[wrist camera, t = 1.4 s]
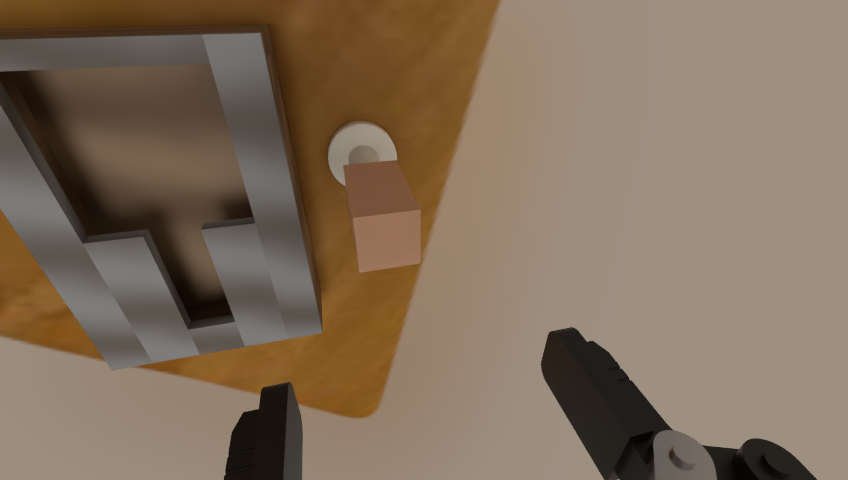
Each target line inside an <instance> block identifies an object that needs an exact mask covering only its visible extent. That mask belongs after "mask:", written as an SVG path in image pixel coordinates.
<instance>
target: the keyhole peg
mask: <svg viewBox="0 0 848 480" xmlns="http://www.w3.org/2000/svg"><path fill="white" fill-rule="evenodd" d="M328 161H329V167H330V169H331V172H332V174H333V175H334V177H335V178H336V179H337V180H338V181H339V182H340V183H341V184H343V185H344V186H346V194H347V202H348V210H349V216H350V222H351V228H352V233H353V239H354V245H355V250H356V256H357V262H358V267H359V273H360V272H367V271H373V270H380V269H387V268H393V267H400V266H407V265H413V264H420V263H421V210H420V208H419V206H418V204H417V202H416V200H415V198H414V195H413V193H412V191H411V189H410V187H409V185H408V183H407V181H406V179H405V177H404V175H403V173H402V171H401V169H400V167H399V165H398V163H397V153H396V149H395V146H394V144H393V142H392V140H391V138H390V136H389V135H388V133H387V132H386V131H385V130H384V129H383V128H382V127H381V126H379V125H377V124H375V123H373V122H370V121H365V120H357V121H352V122H349V123H346V124H344V125H343V126H341V127H340V128H338V129H337V130H336V131H335V133H334V134H333V135H332V137H331V139H330V142H329V145H328Z"/></svg>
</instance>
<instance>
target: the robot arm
mask: <svg viewBox="0 0 848 480" xmlns="http://www.w3.org/2000/svg"><path fill="white" fill-rule="evenodd" d="M541 368H542V373H543V376H544V378H545V381H546V382H547V384H548V386H549V388H550V389H551V391H552V393H553V394H554V396H555V397H556V399H557V401H558V403H559V404H560V406H561V408H562V409H563V411H564V413H565V414H566V416H567V418H568V420H569V421H570V423H571V425H572V426H573V428H574V430H575V431H576V433H577V434H578V436H579V438H580V440H581V441H582V443H583V445H584V446H585V448H586V450H587V451H588V453H589V455H590V456H591V458H592V460H593V461H594V463H595V465H596V467H597V468H598V470H599V472H600V473H601V475H602V476H603V478H604V480H617V479H620V480H817V479H816V478H815V477H814V476H813V475H812V474H811V473H810V472H809V471H808V470H807V469H806V468H805V467H804V466H803V465H802V463H800V461H799V460H797V459H796V458H795V457H794V456H793V455H792V454H791V453H790V452H788V451H786V450H785V449H784V448H782V447H780V446H779V445H777V444H775V443H773V442H770V441H767V440H763V439H750V440H747V441H746V442H745V443H744V444H743V445H742V446H741V448H740V449H731V448H721V447H711V446H703V445H701V444H700V443H698V442H697V441H696V440H695V439H693V438H691V437H690V436H688V435H686V434H684V433H681V432H678V431H673V430H672V429H671V428H670V427H669V426H668V425H667V424H666V422H665V421H664V420H663V419H662V417H661V416H660V415H659V414H658V413H657V411H656V410H655V409H654V408H653V406H652V405H651V404H650V403H649V402H648V400H647V399H646V398H645V397H644V395H643V394H642V393H641V392H640V391H639V389H638V388H637V387H636V386H635V384H634V383H633V382H632V381H630V380H629V377H628V376H627V374H626V373H625V372H624V371H623V370H622V369H620V367H619V365H618V363H617V362H616V361H615V360H614V358H613V357H612V356H611V355H610V353H609V352H607V351H606V350H605V349H603V348H602V347H600V346H599V345H598V344H596V343H595V342H593V341H589V342H586V340H585V339H584V338H583V337H582V335H581V334H580V333H579V331H578V330H576V329H575V328H572V327H571V328H566V329H561V330H556V331H551V332H550V333H549V334H548V338H547V341H546V345H545V350H544V353H543V357H542V361H541ZM302 434H303V433H302V420H301V414H300V410H299V407H298V403H297V400H296V397H295V393H294V390H293V387H292V384H291V382H288V383H283V384H278V385H273V386H268V387H263V388H262V391H261V396H260V405H259V409H258V410H253V411H248V412H244V413H243V414H242V416H241V417H240V419H239V421H238V423H237V425H236V426H235V428H234V430H233V432H232V435H231V441H230V447H229V457H228V459H227V464H226V470H225V471H226V475H225V476H224V480H302V438H303V437H302V436H303V435H302Z"/></svg>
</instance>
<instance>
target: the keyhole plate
mask: <svg viewBox="0 0 848 480" xmlns="http://www.w3.org/2000/svg"><path fill="white" fill-rule="evenodd" d="M0 209H1V210H2V212H3V213H4V215H5V216H6V218H7V219H8V220H9V222H10V223H11V225H12V226H13V228H14V229H15V231H16V232H17V234H18V235H19V236H20V238H21V239H22V241H23V242H24V244H25V245H26V247H27V248H28V249H29V251H30V252H31V254H32V255H33V257H34V258H35V260H36V261H37V262H38V264H39V265H40V267H41V268H42V270H43V271H44V273H45V274H46V275H47V277H48V278H49V280H50V281H51V283H52V284H53V286H54V287H55V288H56V290H57V291H58V293H59V294H60V296H61V297H62V299H63V300H64V301H65V303H66V304H67V306H68V307H69V309H70V310H71V312H72V313H73V314H74V316H75V317H76V319H77V320H78V322H79V323H80V325H81V326H82V327H83V329H84V330H85V332H86V333H87V335H88V336H89V338H90V339H91V340H92V342H93V343H94V345H95V346H96V348H97V349H98V351H99V352H100V354H101V355H102V356H103V358H104V359H105V361H106V362H107V364H108V365H109V366H110V368H111V369H112V370H116V369H122V368H128V367H133V366H139V365H145V364H150V363H156V362H162V361H167V360H173V359H178V358H184V357H190V356H195V355H201V354H207V353H212V352H218V351H223V350H229V349H235V348H240V347H246V346H252V345H257V344H263V343H268V342H274V341H280V340H285V339H291V338H297V337H302V336H308V335H313V334H319V333H323V331H322V306H321V291H320V286H319V281H318V275H317V270H316V265H315V260H314V255H313V250H312V245H311V240H310V234H309V229H308V224H307V219H306V214H305V209H304V204H303V199H302V194H301V188H300V183H299V178H298V173H297V168H296V163H295V158H294V153H293V147H292V142H291V137H290V132H289V127H288V122H287V117H286V112H285V107H284V101H283V96H282V91H281V86H280V81H279V76H278V71H277V66H276V60H275V55H274V50H273V45H272V40H271V35H270V30H269V25H268V24H267V25H219V26H172V27H124V28H77V29H30V30H0Z"/></svg>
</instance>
